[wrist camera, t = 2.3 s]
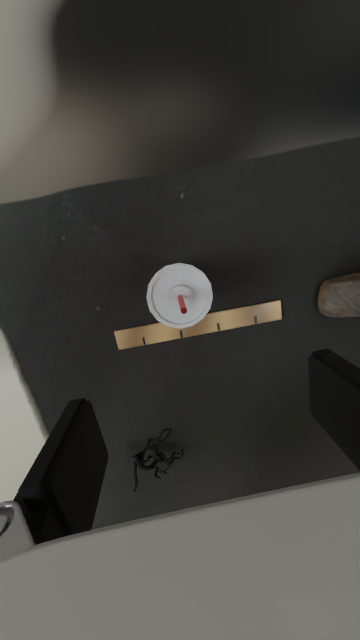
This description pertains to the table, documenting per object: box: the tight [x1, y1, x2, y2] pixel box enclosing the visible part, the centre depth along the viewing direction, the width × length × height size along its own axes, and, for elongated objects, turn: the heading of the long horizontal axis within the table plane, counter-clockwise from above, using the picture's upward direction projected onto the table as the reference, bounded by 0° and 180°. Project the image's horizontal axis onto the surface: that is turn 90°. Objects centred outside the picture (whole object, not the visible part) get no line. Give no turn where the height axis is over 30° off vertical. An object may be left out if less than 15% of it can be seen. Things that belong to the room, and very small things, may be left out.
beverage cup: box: [146, 263, 213, 329], centre depth 25 cm, size 6×6×14 cm
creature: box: [132, 429, 184, 492], centre depth 37 cm, size 8×5×8 cm
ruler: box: [114, 300, 282, 350], centre depth 33 cm, size 22×3×1 cm, turn 100°
